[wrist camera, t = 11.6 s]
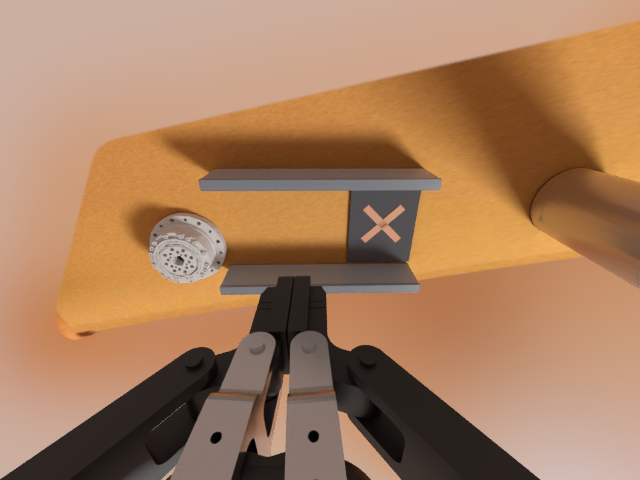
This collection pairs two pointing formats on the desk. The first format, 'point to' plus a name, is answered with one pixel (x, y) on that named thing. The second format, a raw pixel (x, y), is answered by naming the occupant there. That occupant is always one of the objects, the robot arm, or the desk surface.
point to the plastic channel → (338, 179)
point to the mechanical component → (186, 247)
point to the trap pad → (381, 225)
